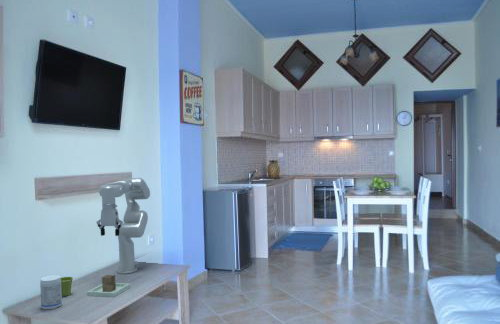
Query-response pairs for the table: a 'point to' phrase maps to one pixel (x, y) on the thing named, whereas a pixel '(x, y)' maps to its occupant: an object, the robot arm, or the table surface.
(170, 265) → the table surface
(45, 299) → the supplement tub
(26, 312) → the table surface
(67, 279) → the plant pot
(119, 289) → the sage tray
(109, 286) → the walnut block
